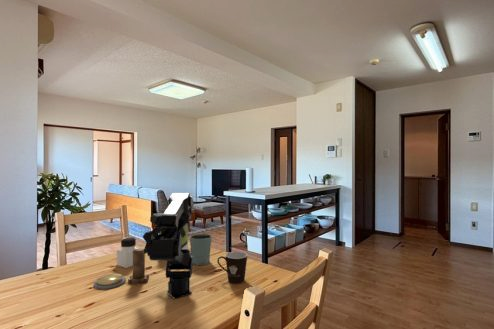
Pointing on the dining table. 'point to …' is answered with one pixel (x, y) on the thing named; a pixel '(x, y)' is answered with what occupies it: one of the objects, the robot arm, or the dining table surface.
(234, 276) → the coffee mug
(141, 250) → the gear spindle
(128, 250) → the medicine bottle
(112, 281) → the hub
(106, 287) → the plate
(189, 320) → the dining table surface
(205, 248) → the drinking glass
